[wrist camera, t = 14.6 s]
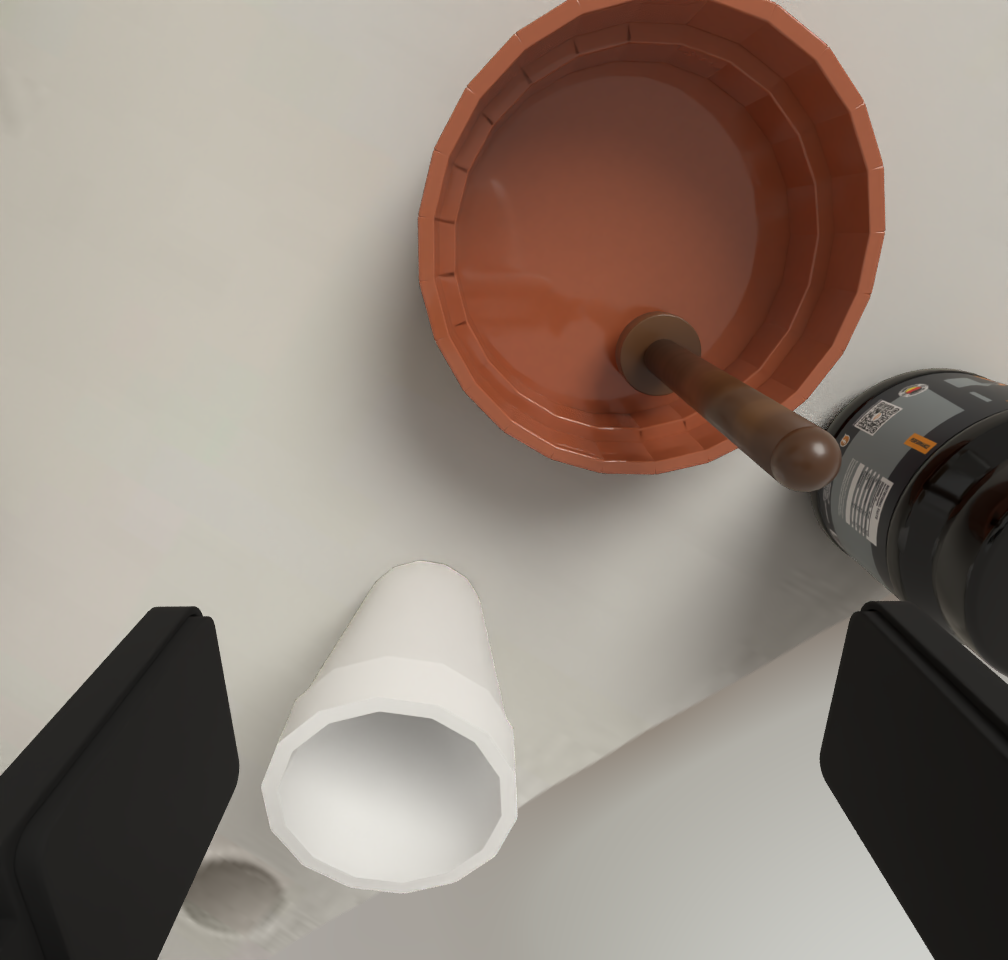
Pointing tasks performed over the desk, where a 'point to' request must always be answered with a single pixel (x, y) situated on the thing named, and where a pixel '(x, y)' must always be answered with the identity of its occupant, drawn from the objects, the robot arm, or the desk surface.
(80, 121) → the desk surface
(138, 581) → the desk surface
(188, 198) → the desk surface
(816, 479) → the flanged wooden peg
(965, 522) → the supplement container
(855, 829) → the robot arm
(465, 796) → the foam cup
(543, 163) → the bowl
